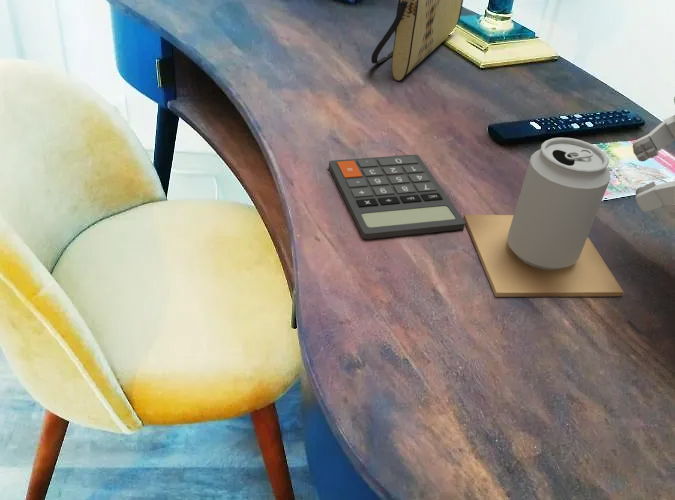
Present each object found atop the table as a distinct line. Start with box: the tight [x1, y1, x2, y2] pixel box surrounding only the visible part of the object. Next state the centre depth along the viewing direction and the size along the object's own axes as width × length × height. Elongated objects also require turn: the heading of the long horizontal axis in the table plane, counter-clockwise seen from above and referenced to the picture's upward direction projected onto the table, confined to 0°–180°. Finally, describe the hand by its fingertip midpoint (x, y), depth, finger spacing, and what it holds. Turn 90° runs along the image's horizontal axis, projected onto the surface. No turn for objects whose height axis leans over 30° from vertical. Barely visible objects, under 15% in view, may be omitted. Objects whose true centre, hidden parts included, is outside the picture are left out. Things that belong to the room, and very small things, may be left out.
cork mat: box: [462, 214, 625, 298], centre depth 68 cm, size 13×13×1 cm
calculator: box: [328, 154, 466, 240], centre depth 75 cm, size 12×1×15 cm
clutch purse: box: [370, 0, 464, 82], centre depth 106 cm, size 30×7×15 cm, turn 154°
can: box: [507, 136, 611, 270], centre depth 64 cm, size 8×8×12 cm
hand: (636, 175), depth 60 cm, fingers open, 8 cm apart
